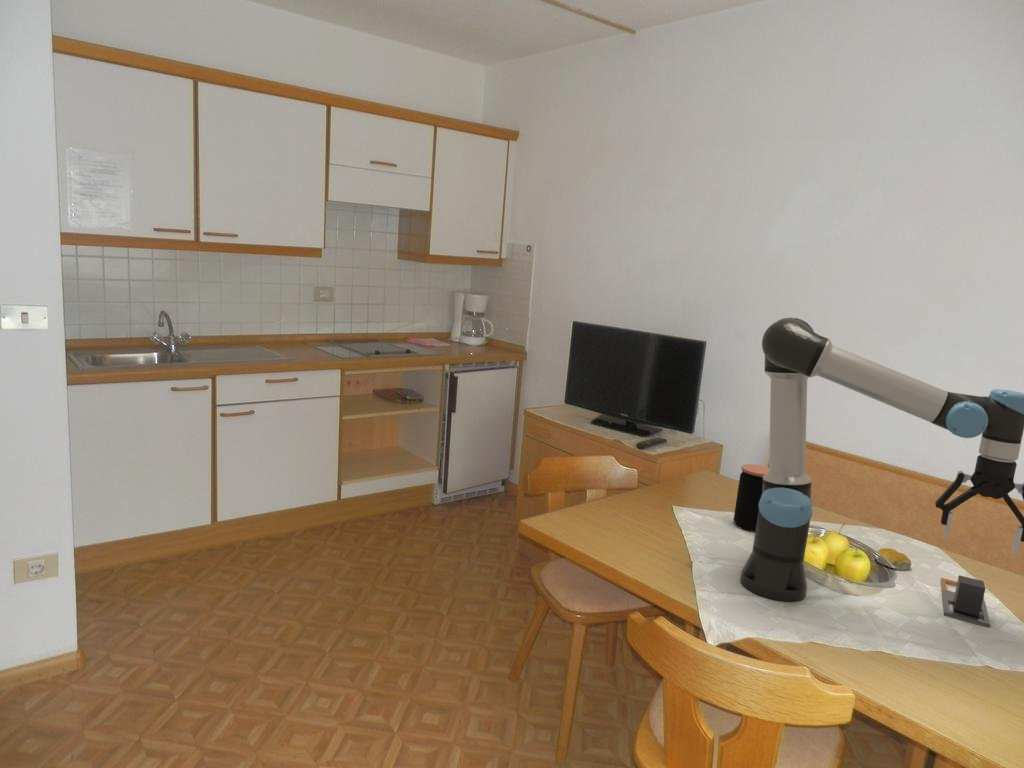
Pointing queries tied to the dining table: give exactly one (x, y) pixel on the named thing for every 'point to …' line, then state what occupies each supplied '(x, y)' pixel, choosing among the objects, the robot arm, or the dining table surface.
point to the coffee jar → (749, 496)
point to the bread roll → (896, 558)
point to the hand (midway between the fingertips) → (979, 546)
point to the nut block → (968, 596)
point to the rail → (948, 599)
